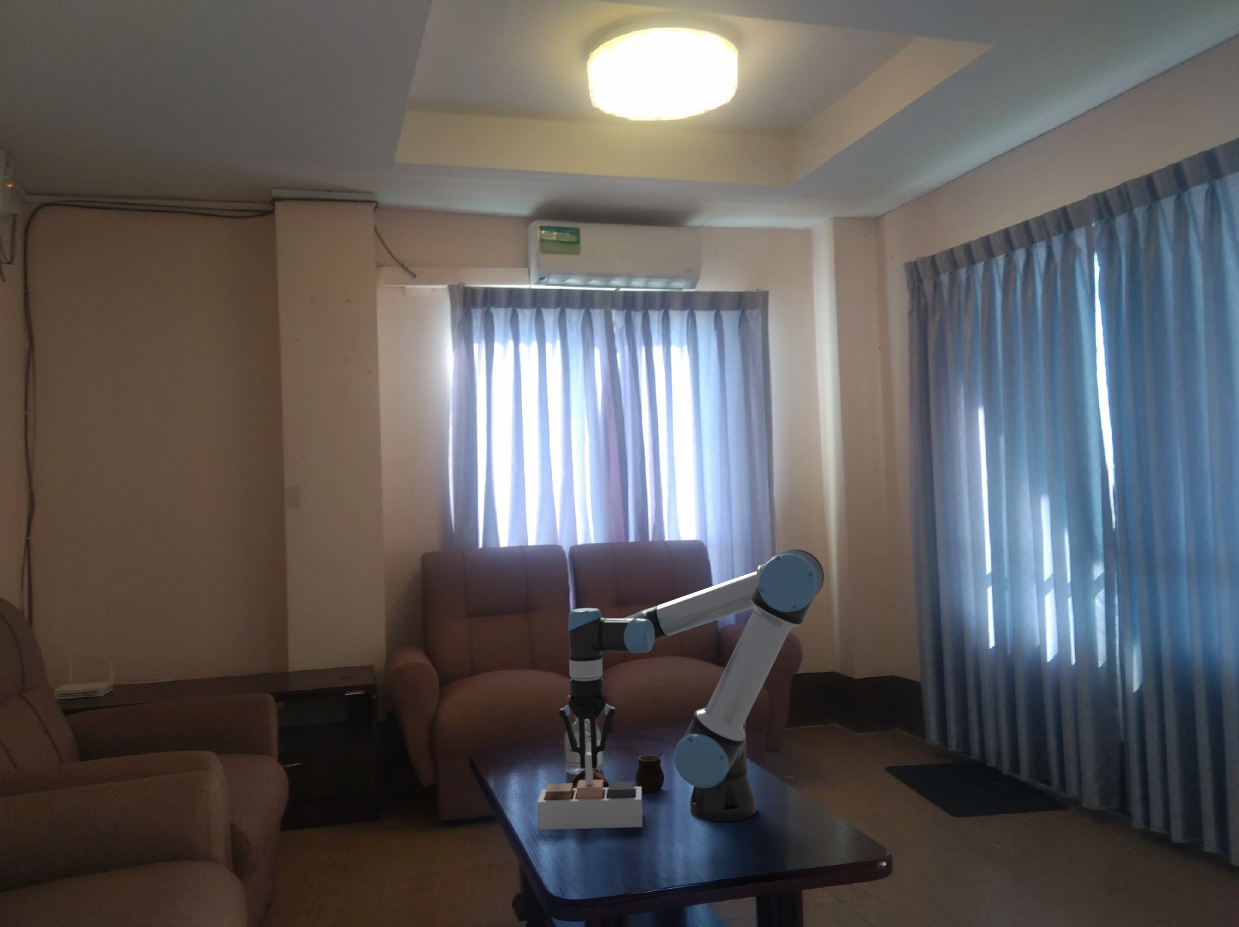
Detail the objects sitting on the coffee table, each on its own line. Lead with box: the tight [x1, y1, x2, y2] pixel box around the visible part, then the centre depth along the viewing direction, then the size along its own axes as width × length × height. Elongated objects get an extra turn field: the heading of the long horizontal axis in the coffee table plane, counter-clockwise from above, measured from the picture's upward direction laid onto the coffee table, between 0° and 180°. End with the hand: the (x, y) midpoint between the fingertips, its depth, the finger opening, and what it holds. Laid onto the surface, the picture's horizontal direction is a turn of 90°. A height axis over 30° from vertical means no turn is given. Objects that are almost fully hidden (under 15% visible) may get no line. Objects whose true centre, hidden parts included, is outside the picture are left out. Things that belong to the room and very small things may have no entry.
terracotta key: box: [576, 779, 604, 799], centre depth 206 cm, size 6×6×5 cm
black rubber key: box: [608, 781, 635, 798], centre depth 206 cm, size 6×6×5 cm
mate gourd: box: [635, 750, 665, 794], centre depth 226 cm, size 7×8×10 cm
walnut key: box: [545, 782, 573, 800], centre depth 206 cm, size 6×6×5 cm
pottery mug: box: [570, 768, 609, 788], centre depth 222 cm, size 12×10×8 cm
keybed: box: [536, 786, 644, 831], centre depth 206 cm, size 23×9×6 cm, turn 88°
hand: (589, 782), depth 206 cm, fingers closed
